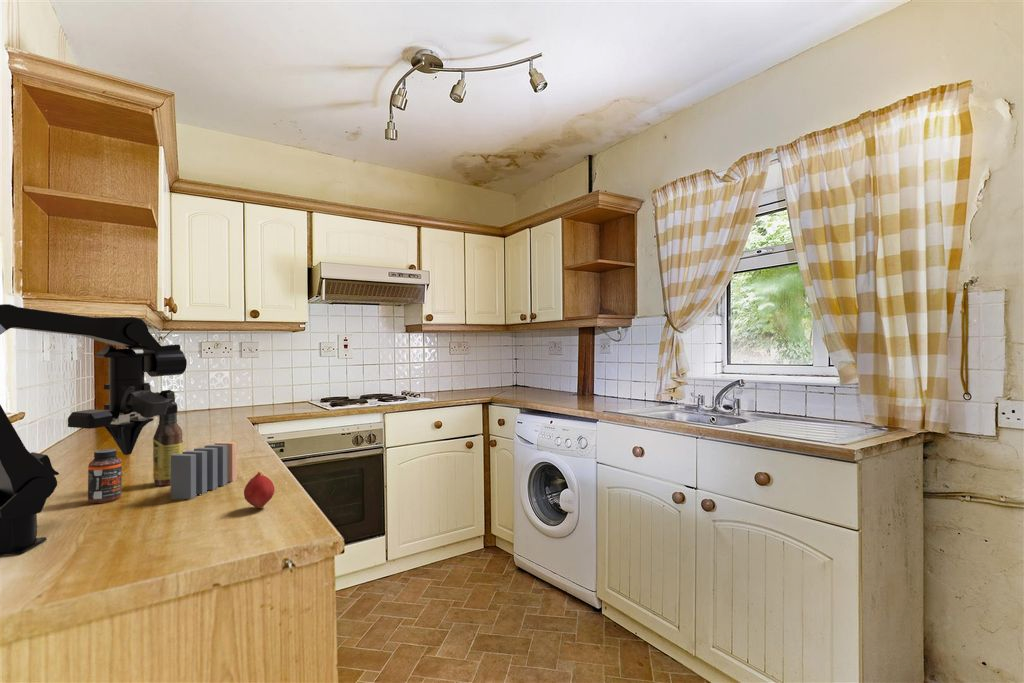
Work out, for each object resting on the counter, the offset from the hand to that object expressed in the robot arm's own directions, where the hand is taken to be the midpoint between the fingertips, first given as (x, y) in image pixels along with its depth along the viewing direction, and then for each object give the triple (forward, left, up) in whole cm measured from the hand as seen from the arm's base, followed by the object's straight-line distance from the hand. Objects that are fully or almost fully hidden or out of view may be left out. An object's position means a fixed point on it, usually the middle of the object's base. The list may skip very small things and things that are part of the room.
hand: (127, 454), depth 102 cm
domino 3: (+18, -9, -13) cm, 23 cm away
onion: (-1, -25, -13) cm, 28 cm away
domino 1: (+11, -6, -13) cm, 18 cm away
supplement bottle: (+14, +11, -13) cm, 22 cm away
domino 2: (+14, -7, -13) cm, 21 cm away
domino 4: (+21, -10, -13) cm, 26 cm away
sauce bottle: (+26, +3, -13) cm, 29 cm away
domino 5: (+24, -11, -13) cm, 30 cm away
